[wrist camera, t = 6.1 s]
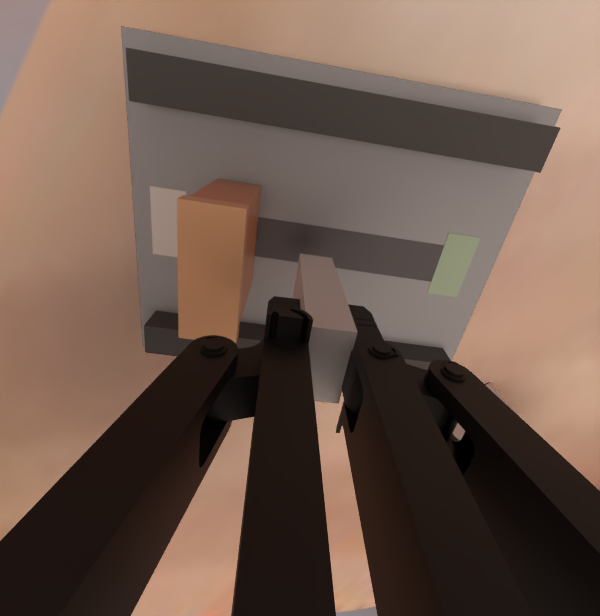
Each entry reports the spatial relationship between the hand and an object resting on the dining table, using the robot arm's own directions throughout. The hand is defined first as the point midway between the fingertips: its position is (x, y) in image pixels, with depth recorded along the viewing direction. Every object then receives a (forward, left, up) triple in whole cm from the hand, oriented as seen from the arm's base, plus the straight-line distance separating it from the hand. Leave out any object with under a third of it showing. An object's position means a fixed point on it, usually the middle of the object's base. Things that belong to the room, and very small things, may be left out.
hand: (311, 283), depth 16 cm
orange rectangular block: (-4, 0, -5) cm, 7 cm away
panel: (+1, 0, -7) cm, 7 cm away
